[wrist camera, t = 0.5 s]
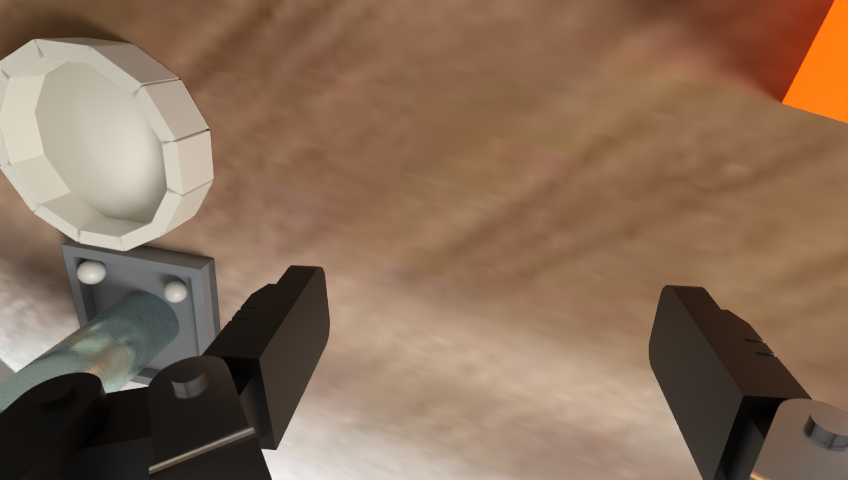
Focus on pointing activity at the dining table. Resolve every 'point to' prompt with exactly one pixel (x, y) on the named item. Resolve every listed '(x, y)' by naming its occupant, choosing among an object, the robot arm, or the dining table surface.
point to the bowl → (102, 140)
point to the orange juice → (825, 69)
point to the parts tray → (155, 273)
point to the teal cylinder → (103, 346)
